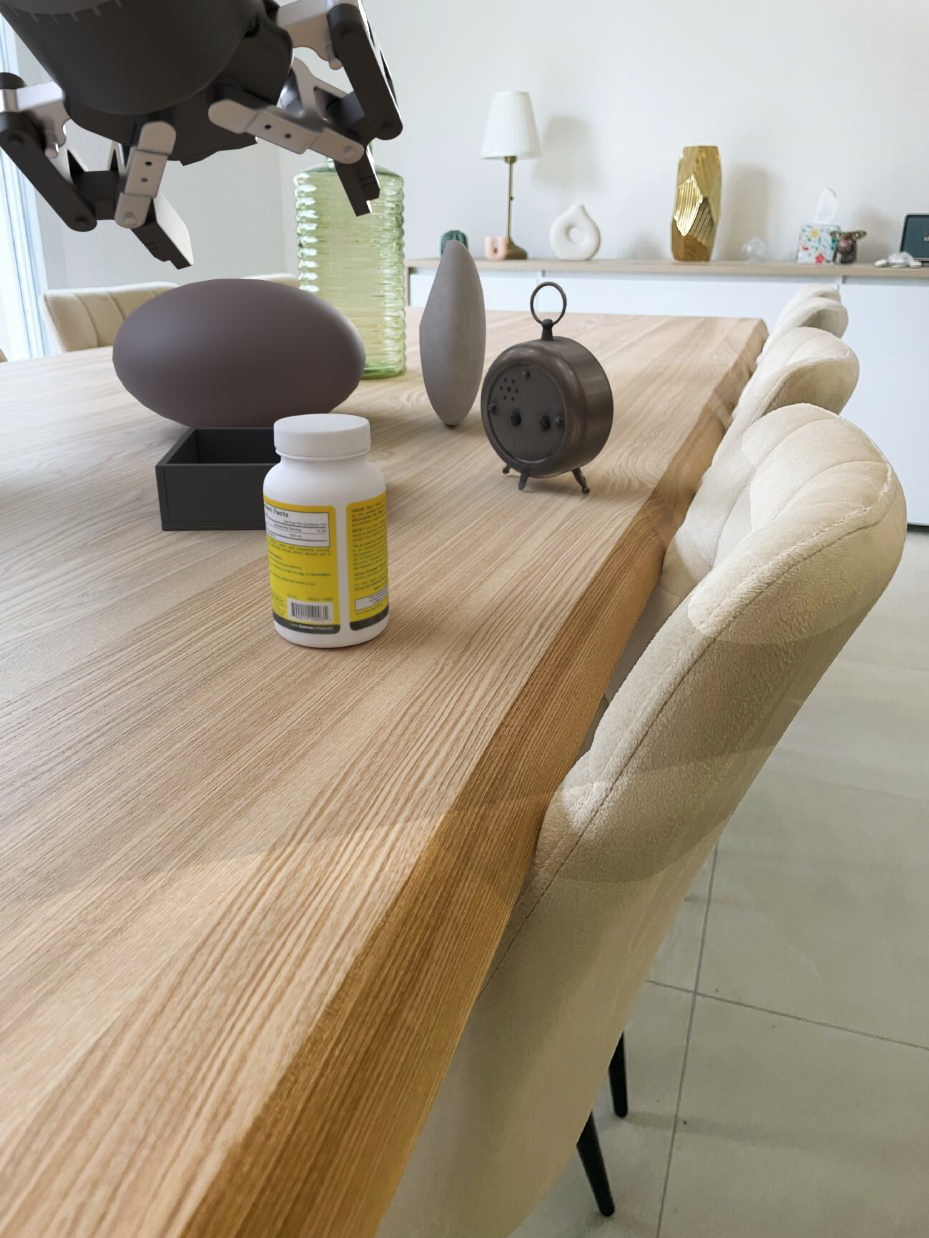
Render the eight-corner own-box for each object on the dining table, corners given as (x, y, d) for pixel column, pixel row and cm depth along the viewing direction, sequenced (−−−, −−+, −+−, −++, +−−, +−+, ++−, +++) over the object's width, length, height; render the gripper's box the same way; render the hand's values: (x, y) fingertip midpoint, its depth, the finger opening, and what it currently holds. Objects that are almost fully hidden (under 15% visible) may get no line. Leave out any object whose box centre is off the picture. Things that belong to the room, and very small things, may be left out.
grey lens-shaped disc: (421, 407, 111) (421, 238, 103) (480, 408, 111) (484, 239, 104) (416, 440, 94) (416, 240, 86) (486, 441, 94) (492, 242, 86)
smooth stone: (355, 459, 86) (351, 288, 80) (84, 454, 86) (59, 282, 80) (376, 410, 109) (374, 275, 103) (162, 406, 108) (148, 270, 102)
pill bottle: (371, 600, 54) (366, 407, 49) (404, 642, 48) (402, 430, 44) (263, 613, 51) (248, 413, 47) (285, 658, 46) (271, 437, 42)
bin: (161, 530, 65) (154, 465, 63) (194, 482, 77) (189, 427, 75) (351, 528, 66) (349, 465, 64) (354, 481, 78) (352, 427, 76)
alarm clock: (610, 493, 76) (627, 284, 70) (572, 506, 73) (586, 286, 66) (507, 470, 83) (514, 277, 77) (467, 480, 79) (471, 279, 73)
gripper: (285, -294, 26) (405, 110, 42) (-162, -134, 28) (115, 198, 44) (332, -82, 25) (438, 254, 41) (-143, 75, 26) (137, 340, 42)
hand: (271, 225), depth 42 cm, fingers open, 8 cm apart
